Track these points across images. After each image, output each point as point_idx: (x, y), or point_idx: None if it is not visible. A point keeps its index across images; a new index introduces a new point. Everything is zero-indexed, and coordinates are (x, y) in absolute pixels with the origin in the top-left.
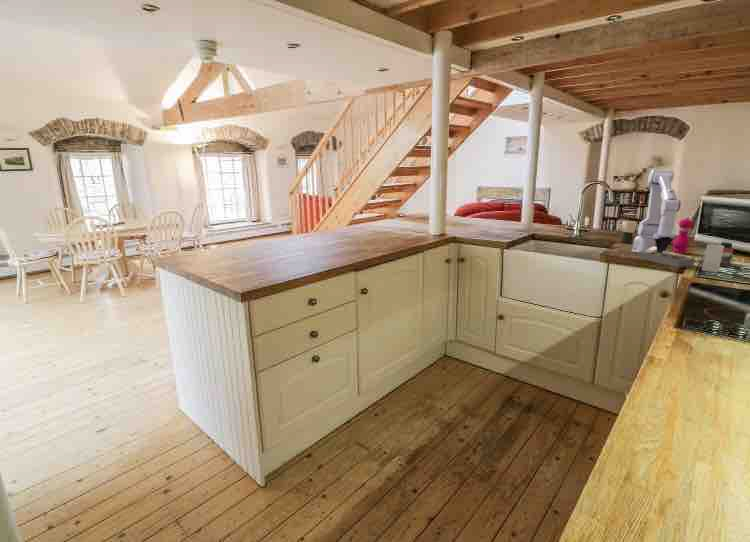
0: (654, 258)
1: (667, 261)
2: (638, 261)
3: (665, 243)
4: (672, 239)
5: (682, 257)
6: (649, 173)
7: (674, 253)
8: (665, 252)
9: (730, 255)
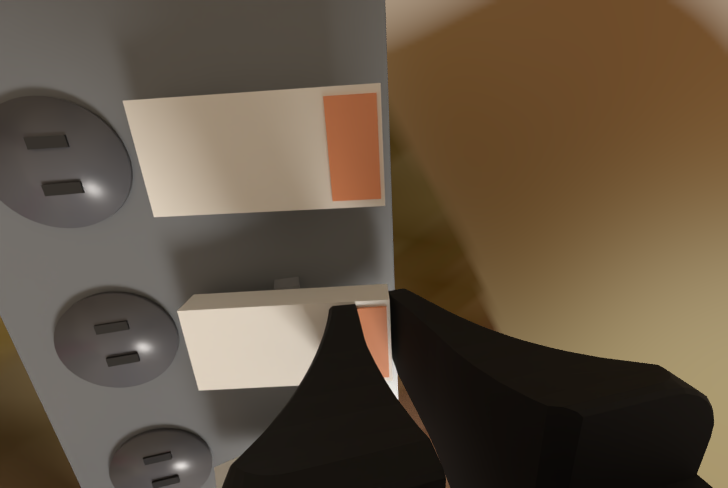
0: None
1: None
2: (488, 328)
3: (501, 357)
4: (292, 484)
5: (97, 116)
6: None
7: (379, 103)
8: (319, 293)
9: None
